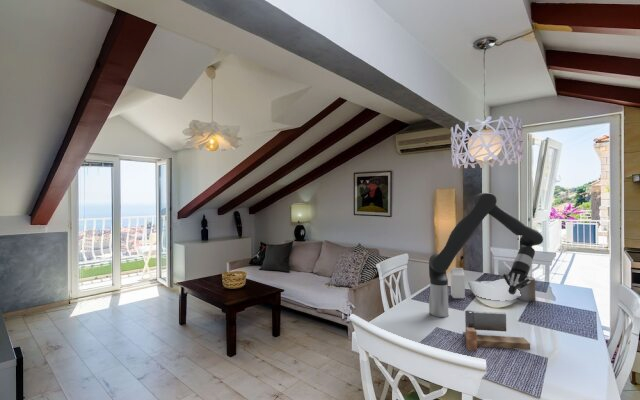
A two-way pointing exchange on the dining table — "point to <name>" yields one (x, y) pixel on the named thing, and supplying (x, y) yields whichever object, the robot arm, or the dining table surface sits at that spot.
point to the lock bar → (485, 320)
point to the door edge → (493, 341)
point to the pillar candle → (528, 291)
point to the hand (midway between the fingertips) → (511, 293)
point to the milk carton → (457, 283)
